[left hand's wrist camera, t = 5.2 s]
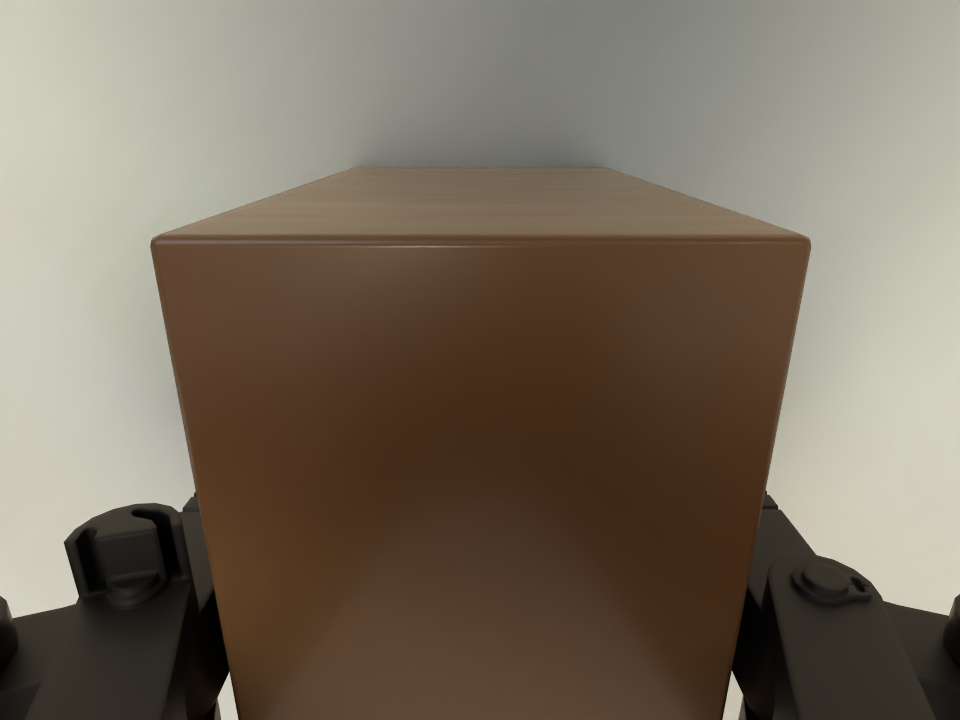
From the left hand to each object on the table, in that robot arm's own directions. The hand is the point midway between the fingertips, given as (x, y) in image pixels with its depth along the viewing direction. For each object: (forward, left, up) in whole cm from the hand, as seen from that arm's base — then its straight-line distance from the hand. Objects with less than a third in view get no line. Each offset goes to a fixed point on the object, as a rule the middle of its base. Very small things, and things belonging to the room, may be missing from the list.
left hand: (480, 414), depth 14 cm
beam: (+30, +6, -1) cm, 31 cm away
